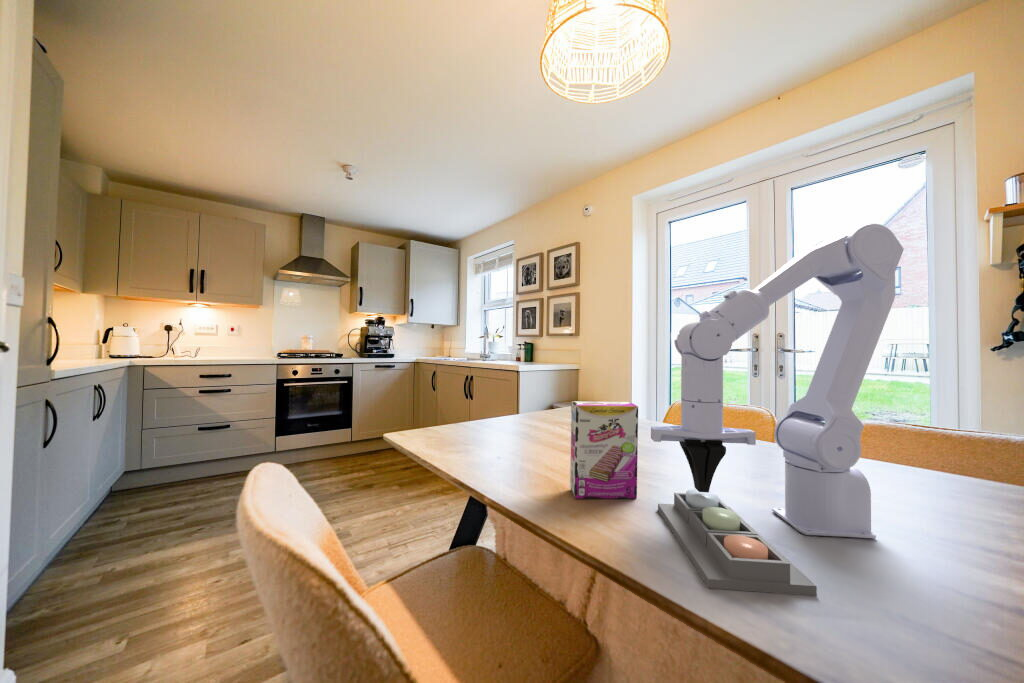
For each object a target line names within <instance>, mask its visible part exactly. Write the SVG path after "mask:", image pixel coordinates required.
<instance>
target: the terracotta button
mask: <svg viewBox="0 0 1024 683" xmlns="http://www.w3.org/2000/svg"><path fill="white" fill-rule="evenodd" d="M724 548H725V550H726V551H727V552H728V553H729V554H730V555H731V557H732V558H745V559H762V560H768V548H767V547H766V546H765V545H764V544H763V543H761V542H760V541H758V540H755V539H753V538H750V537H746V536H741V535H729V536H726V537H725V538H724Z"/></svg>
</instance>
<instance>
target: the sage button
mask: <svg viewBox="0 0 1024 683" xmlns="http://www.w3.org/2000/svg"><path fill="white" fill-rule="evenodd" d="M733 511H734V510H733ZM733 511H731V510H728V509H724V508H719V507H706V508H704V509H703V524H704V525H705V526H706V527H707V528H708V530H726V531H740V517H741V515H739V513H737V512H736V511H735V512H736V513H735V512H733Z"/></svg>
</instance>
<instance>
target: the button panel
mask: <svg viewBox="0 0 1024 683" xmlns="http://www.w3.org/2000/svg"><path fill="white" fill-rule="evenodd" d="M718 507H719V508H724V509H728V510H731V511H733V512H735V513H737V512H736V511H734V510H733V508H731V506H728V505H727V504H726V503H724V502H723V501H722V500H721V499H720V498H719V497H718ZM657 511H658V512H659V513H660V516H661V517H662V518H663V521H664V522H665V523H666V524H667V526H668V528H669V529H670V531H671V532H672V534H673V536H675V539H676V540H677V541H678V543H679V544H680V546H681V548H682V549H683V551H684V552H685V553H686V555H687V557H688V558H689V560H690V561H691V563H692V565H693V566H694V568H695V569H696V571H697V572H698V574H699V576H700V577H701V579H702V580H703V582H704V584H705V585H706V587H707V588H708V589H717V590H732V591H744V592H745V591H747V592H760V593H761V592H762V593H776V594H789V595H800V596H801V595H804V596H818V595H817V594H818V590H817V589H818V588H817V585H816V584H815V583H814V582H813V581H812V580H811V579H810V578H808V577H807V576H806V575H805V574H804V573H803V572H802V571H801V570H799V569H798V567H797V566H795V565H794V564H793V563H792V562H790V560H789V559H787V558H786V557H785V556H784V554H782V553H781V552H780V551H779V550H777V548H776V547H774V546H773V545H772V544H771V543H770V542H768V540H767V539H766V538H764V536H762V535H761V534H760V533H759V532H758V531H757V530H755V529H754V527H752V526H751V525H750V524H749V523H748V522H747V521H746V520H745V519H743V518H742V517H741V516H740V531H726V530H708V528H707V527H706V526H705V525H704V524H703V509H700V508H690V507H689V506H688V505H687V504H686V492H684V493H683V492H674V493H673V503H657ZM729 535H741V536H746V537H750V538H753V539H755V540H758V541H760V542H761V543H763V544H764V545H765V546H766V547H767V548H768V560H762V559H745V558H732V557H731V555H730V554H729V553H728V552H727V551H726V550H725V548H724V538H725V537H726V536H729Z"/></svg>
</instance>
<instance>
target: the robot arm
mask: <svg viewBox="0 0 1024 683" xmlns="http://www.w3.org/2000/svg"><path fill="white" fill-rule="evenodd" d="M904 250H905V248H904V246H902V244H901V243H900V241H899V240H898V238H897V237H896V235H895V234H894V232H893V231H892V230H891V229H890V228H888V227H887V226H884V225H882V224H879V223H868V224H864V225H862V226H859V227H858V228H857V229H854V230H851V231H849V232H846V233H844V234H840V235H837V236H834V237H832V238H829V239H827V240H820V241H817V242H816V243H814V244H812V245H811V246H810V247H809V248H806V249H804V250H802V251H800V252H799V253H798V254H796V255H795V256H794V257H792V258H791V259H790V260H789V261H788V262H787V263H785V264H784V265H782V266H781V267H780V268H778V270H777V271H775V272H774V273H772V275H770V276H769V277H768V278H766V279H765V280H763V282H762V283H760V284H759V285H758V286H756V287H755V288H753V289H745V288H741V289H739V290H737V291H736V290H731V291H729V292H727V293H725V294H724V295H723V298H724V299H725V300H723V301H722V302H721V303H719V304H718V305H716V306H715V307H714V308H712V309H710V310H709V311H706V310H705V311H702V312H701V313H700V314H699V315H698V316H699V321H696V322H690V323H687V324H685V325H684V326H683V327H682V328H680V330H679V333H678V334H677V336H676V339H675V340H674V346H675V349H676V351H677V352H678V353H679V355H680V356H681V360H680V361H681V370H680V372H681V373H680V389H681V390H680V395H681V396H680V400H681V402H680V403H681V404H680V405H681V406H680V411H681V412H680V414H681V415H680V419H681V420H680V425H665V426H653V425H652V426H651V427H650V439H651V440H652V441H653V442H655V443H657V442H658V443H660V442H661V443H662V442H679V446H680V447H681V449H682V452H683V454H684V455H685V458H686V460H687V463H688V465H689V468H690V472H691V475H692V479H693V484H694V485H693V486H694V488H695V490H698V491H699V492H710V488H711V484H712V481H713V477H714V476H715V472H716V471H717V468H718V466H719V464H720V462H721V461H722V459H723V458H724V456H726V454H727V447H726V445H725V446H724V444H746V445H750V446H751V445H752V446H756V445H757V444H756V441H757V440H756V439H757V438H756V436H757V433H756V431H754V430H752V429H747V428H736V427H734V428H733V427H724V356H726V355H727V354H729V352H730V351H731V348H732V345H733V343H735V341H737V340H738V339H740V338H741V337H743V336H744V335H745V334H747V333H748V332H750V331H751V330H752V329H754V328H755V327H757V326H758V325H759V324H761V323H763V321H766V320H767V318H768V316H769V314H770V306H772V305H773V304H775V303H776V302H778V301H779V300H781V299H783V298H784V297H785V296H787V295H788V294H790V293H791V292H793V291H794V290H796V289H797V288H799V287H801V286H802V285H804V284H805V283H807V282H808V281H810V280H812V279H813V278H814V279H816V281H818V282H819V283H820V284H822V286H824V287H825V288H827V289H828V290H829V291H830V292H831V293H833V294H834V295H835V296H837V297H838V298H839V300H840V301H841V304H840V307H839V309H838V312H837V315H836V316H835V319H834V322H833V325H832V327H831V330H830V332H829V335H828V337H827V340H826V342H825V345H824V348H823V350H822V353H821V356H820V358H819V360H818V363H817V366H816V368H815V370H814V373H813V376H812V378H811V381H810V383H809V387H808V389H807V392H806V394H805V395H804V396H803V397H802V398H799V399H798V400H796V401H795V402H792V404H790V405H789V408H788V410H787V411H786V412H787V413H785V415H784V416H783V417H782V418H780V419H779V420H778V421H777V422H776V425H774V426H775V427H774V432H773V437H774V440H775V443H776V445H777V446H778V447H779V448H780V450H782V456H783V458H784V507H773V508H772V509H771V510H772V512H773V513H774V514H776V515H777V516H778V517H780V518H781V519H782V520H783V521H784V522H787V523H788V524H789V525H790V526H792V527H793V528H795V529H796V530H797V531H798V532H799V533H801V534H802V535H803V534H804V535H807V536H820V537H821V536H825V537H839V538H840V537H845V538H846V537H847V538H863V539H876V538H877V535H876V533H873V532H872V492H871V486H870V484H869V481H868V478H867V477H866V476H865V474H864V473H863V472H862V471H860V469H858V468H856V467H855V466H856V464H857V463H858V461H859V459H860V457H861V455H862V444H861V443H862V442H861V437H862V433H863V430H864V427H865V426H864V424H863V422H862V421H861V420H860V419H859V417H858V416H857V415H856V413H855V412H854V411H853V406H854V404H855V401H856V399H857V396H858V393H859V390H860V388H861V386H862V383H863V381H864V378H865V375H866V373H867V370H868V368H869V365H870V362H871V360H872V358H873V355H874V352H875V350H876V347H877V345H878V342H879V340H880V337H881V334H882V332H883V329H884V326H885V324H886V321H887V319H888V316H889V314H890V312H891V309H892V306H893V303H894V301H895V299H896V298H895V297H896V270H897V268H898V265H899V262H900V260H901V258H902V256H903V253H904Z"/></svg>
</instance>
